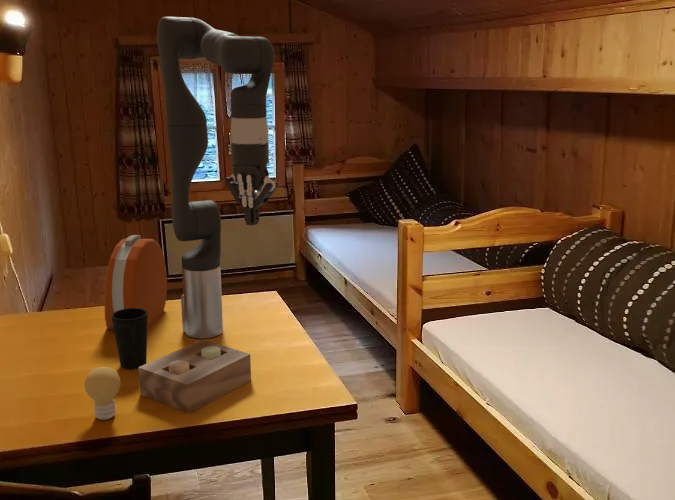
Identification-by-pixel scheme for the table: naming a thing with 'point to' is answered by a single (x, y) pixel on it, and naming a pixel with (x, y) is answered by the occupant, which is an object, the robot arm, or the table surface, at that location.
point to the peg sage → (211, 352)
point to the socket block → (194, 376)
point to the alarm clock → (136, 278)
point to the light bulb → (103, 390)
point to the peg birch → (178, 367)
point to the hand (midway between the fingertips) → (252, 224)
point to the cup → (131, 336)
